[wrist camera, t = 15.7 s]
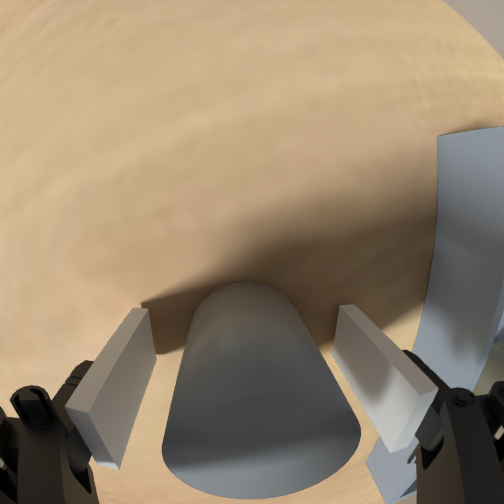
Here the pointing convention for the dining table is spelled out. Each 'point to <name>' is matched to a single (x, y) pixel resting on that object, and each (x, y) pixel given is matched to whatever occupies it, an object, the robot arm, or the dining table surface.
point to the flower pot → (492, 374)
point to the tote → (457, 283)
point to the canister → (255, 400)
